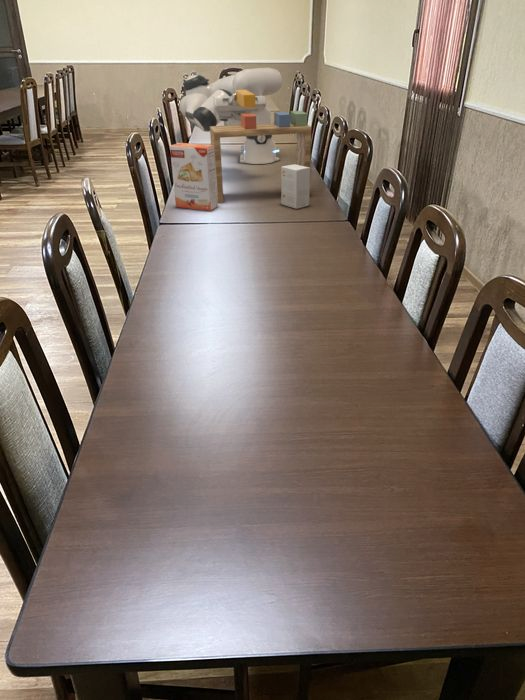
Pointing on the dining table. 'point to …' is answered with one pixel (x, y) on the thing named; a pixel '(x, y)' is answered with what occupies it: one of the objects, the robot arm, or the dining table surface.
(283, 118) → the block
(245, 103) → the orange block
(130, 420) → the dining table surface
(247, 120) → the block
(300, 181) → the small box
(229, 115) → the robot arm
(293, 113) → the block
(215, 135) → the shelf
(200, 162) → the cracker box
